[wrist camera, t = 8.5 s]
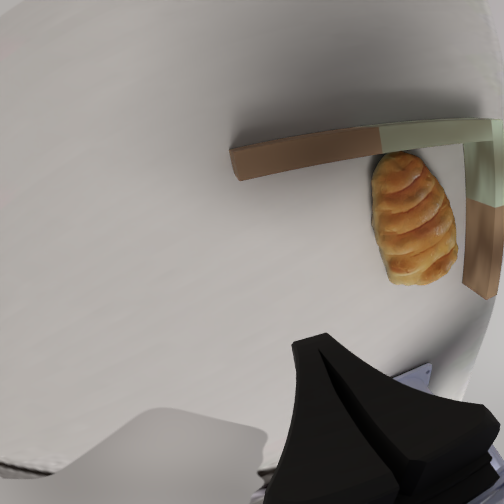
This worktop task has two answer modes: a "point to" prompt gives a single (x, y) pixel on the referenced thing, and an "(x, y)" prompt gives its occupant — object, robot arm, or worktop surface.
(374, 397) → the robot arm
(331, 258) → the worktop surface
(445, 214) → the pastry
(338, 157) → the two-tone corner bracket
